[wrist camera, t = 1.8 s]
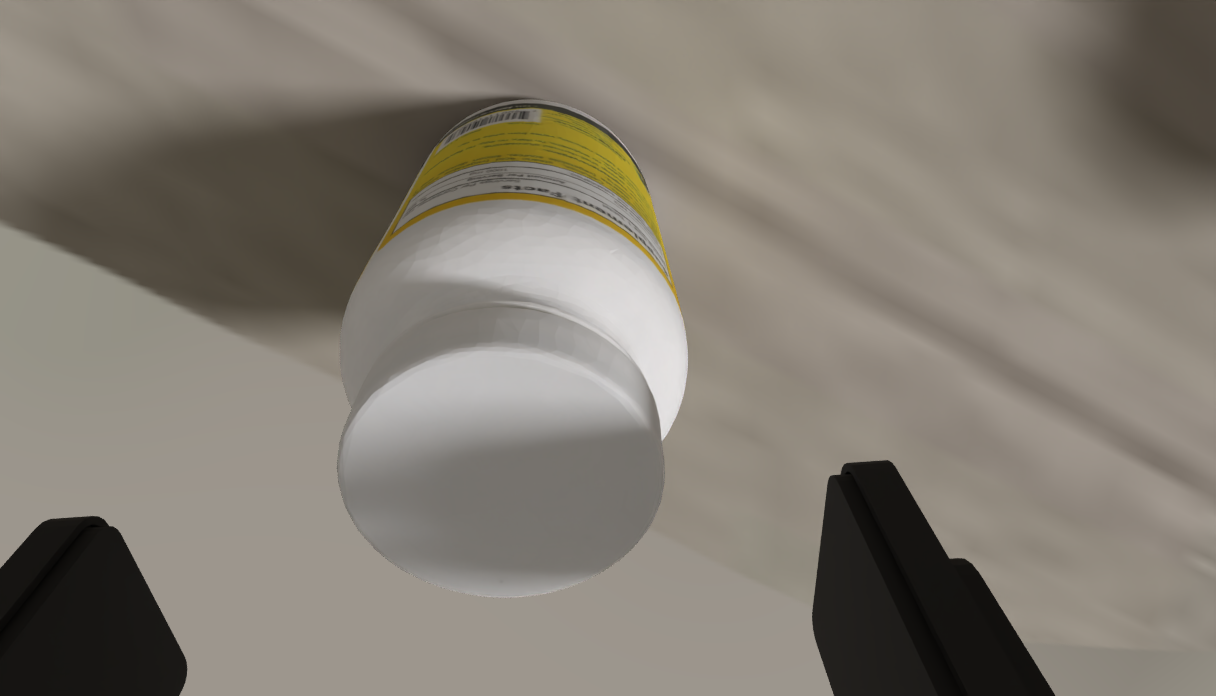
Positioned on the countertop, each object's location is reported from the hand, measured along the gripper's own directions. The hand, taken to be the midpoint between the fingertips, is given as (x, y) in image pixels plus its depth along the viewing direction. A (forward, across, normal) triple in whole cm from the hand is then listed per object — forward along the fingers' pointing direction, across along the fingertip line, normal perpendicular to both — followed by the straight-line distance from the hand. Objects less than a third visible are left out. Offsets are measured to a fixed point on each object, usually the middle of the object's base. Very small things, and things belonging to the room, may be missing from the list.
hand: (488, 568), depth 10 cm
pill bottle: (+12, 0, -1) cm, 12 cm away
